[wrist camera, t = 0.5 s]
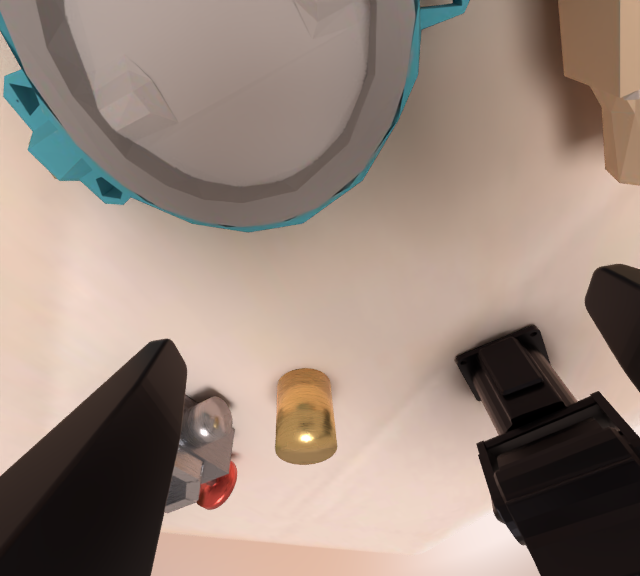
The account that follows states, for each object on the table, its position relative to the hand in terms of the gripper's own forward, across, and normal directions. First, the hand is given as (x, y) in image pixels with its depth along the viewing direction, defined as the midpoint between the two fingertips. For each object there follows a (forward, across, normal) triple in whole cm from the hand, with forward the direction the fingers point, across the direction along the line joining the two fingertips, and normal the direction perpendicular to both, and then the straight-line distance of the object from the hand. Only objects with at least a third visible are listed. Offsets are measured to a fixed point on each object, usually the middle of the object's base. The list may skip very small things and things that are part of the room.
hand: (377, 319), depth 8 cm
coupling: (+14, +5, +19) cm, 24 cm away
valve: (+14, +18, +22) cm, 32 cm away
